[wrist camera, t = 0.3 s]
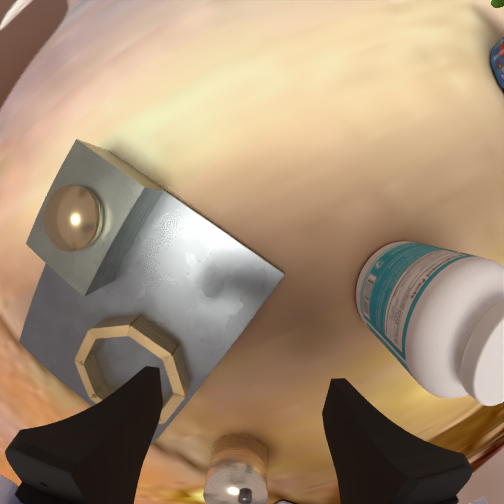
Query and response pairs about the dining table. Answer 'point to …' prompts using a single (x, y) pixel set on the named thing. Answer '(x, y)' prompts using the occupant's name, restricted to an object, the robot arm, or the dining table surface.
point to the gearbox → (135, 283)
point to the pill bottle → (438, 317)
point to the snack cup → (498, 51)
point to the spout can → (237, 471)
